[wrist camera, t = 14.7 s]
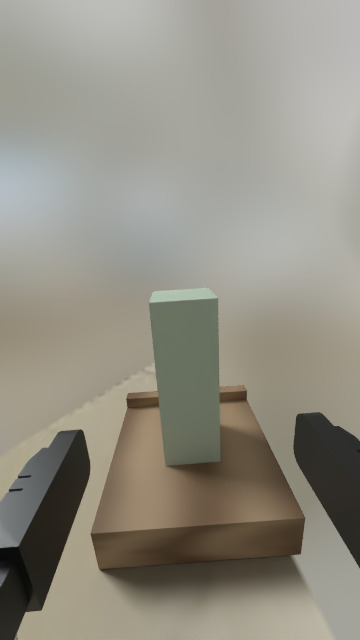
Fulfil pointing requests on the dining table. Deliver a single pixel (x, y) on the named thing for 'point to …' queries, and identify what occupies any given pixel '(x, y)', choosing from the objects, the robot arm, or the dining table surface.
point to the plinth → (194, 494)
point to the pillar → (187, 373)
